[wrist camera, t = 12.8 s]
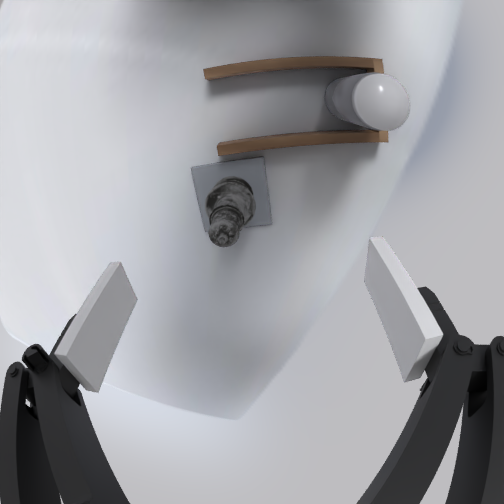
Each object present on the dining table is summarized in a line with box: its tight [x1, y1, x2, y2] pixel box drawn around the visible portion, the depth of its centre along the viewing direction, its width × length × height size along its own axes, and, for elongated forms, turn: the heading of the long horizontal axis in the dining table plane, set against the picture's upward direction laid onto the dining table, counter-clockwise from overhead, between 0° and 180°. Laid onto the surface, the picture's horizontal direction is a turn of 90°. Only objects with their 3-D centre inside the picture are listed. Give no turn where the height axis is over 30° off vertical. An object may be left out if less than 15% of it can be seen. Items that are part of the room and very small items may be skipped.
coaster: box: [191, 156, 272, 232], centre depth 35 cm, size 9×9×1 cm
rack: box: [203, 56, 388, 156], centre depth 28 cm, size 10×20×2 cm, turn 98°
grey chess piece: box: [205, 176, 256, 247], centre depth 30 cm, size 6×6×12 cm
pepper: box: [325, 72, 410, 131], centre depth 24 cm, size 6×6×11 cm
